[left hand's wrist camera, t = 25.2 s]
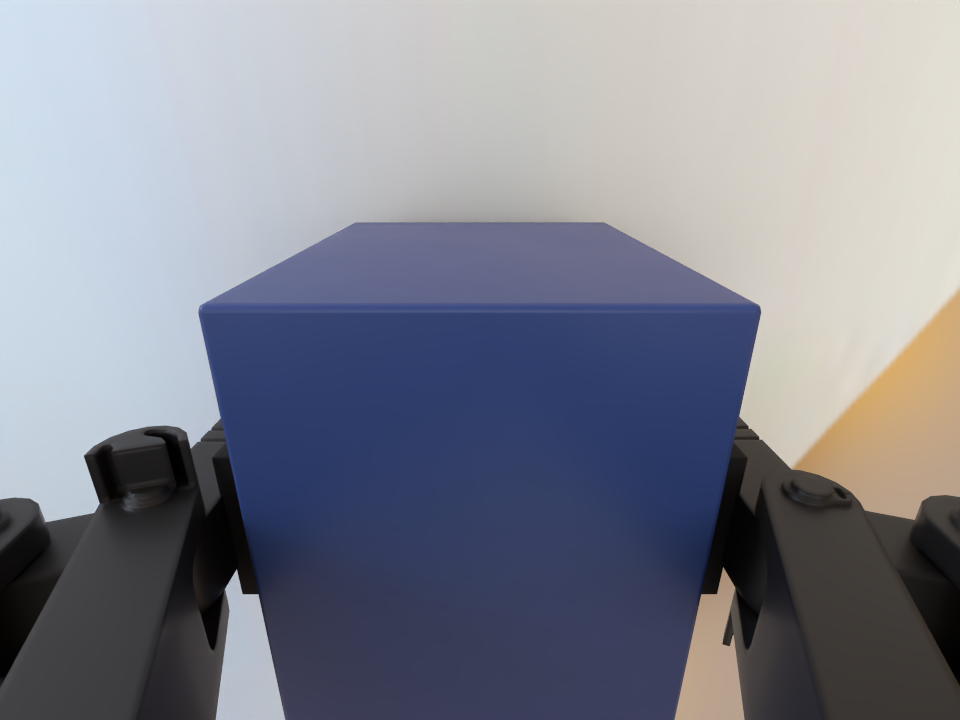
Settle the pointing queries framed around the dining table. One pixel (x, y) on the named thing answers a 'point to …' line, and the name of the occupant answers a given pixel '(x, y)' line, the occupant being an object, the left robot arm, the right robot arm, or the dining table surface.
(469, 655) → the block
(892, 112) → the dining table surface
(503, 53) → the dining table surface
